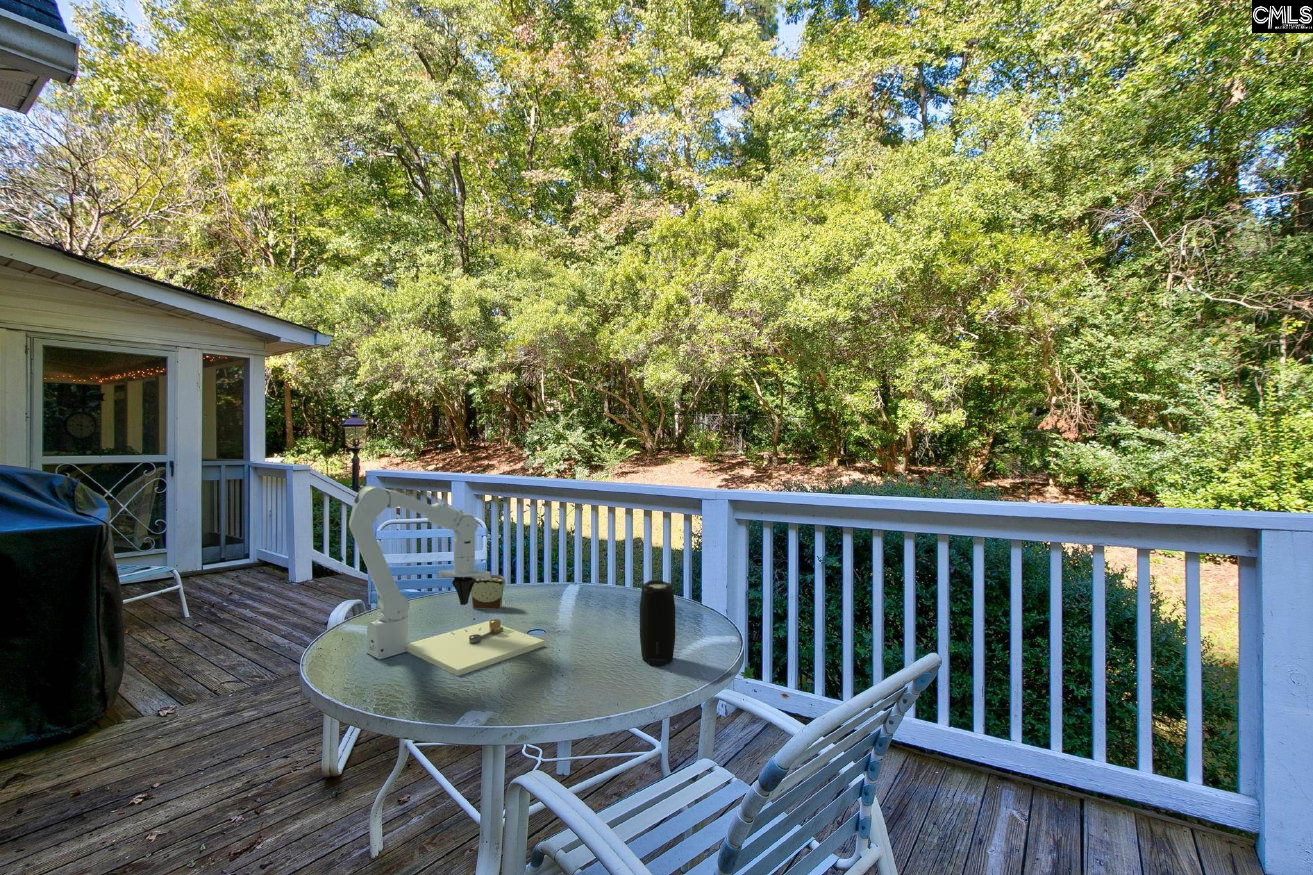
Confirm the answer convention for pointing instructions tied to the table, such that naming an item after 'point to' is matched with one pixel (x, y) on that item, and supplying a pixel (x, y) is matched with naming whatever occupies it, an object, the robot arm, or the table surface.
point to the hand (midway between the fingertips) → (464, 603)
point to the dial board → (472, 648)
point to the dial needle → (493, 629)
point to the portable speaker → (657, 622)
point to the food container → (488, 593)
